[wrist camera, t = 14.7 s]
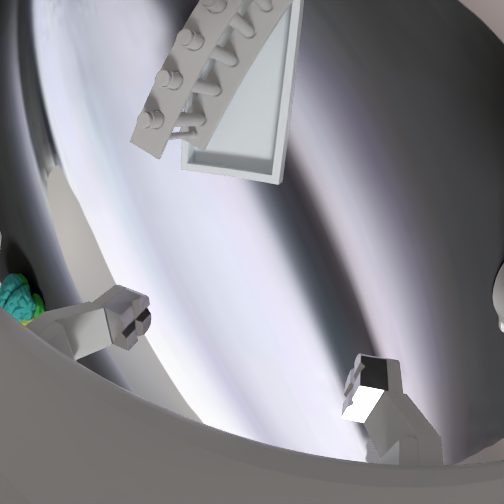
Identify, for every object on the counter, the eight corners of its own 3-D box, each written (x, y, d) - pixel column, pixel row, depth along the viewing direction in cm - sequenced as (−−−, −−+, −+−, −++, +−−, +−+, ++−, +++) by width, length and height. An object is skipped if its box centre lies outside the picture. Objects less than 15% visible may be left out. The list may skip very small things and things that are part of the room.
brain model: (18, 251, 67) (-18, 274, 54) (53, 297, 68) (16, 325, 55) (18, 293, 79) (-10, 314, 67) (49, 332, 80) (21, 357, 67)
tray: (307, -34, 25) (304, -42, 23) (282, 181, 39) (278, 184, 37) (213, -30, 28) (206, -37, 26) (189, 167, 42) (180, 169, 40)
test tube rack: (267, -16, 26) (231, -65, 14) (297, -5, 26) (272, -57, 14) (179, 135, 38) (115, 144, 26) (205, 150, 38) (145, 163, 26)
